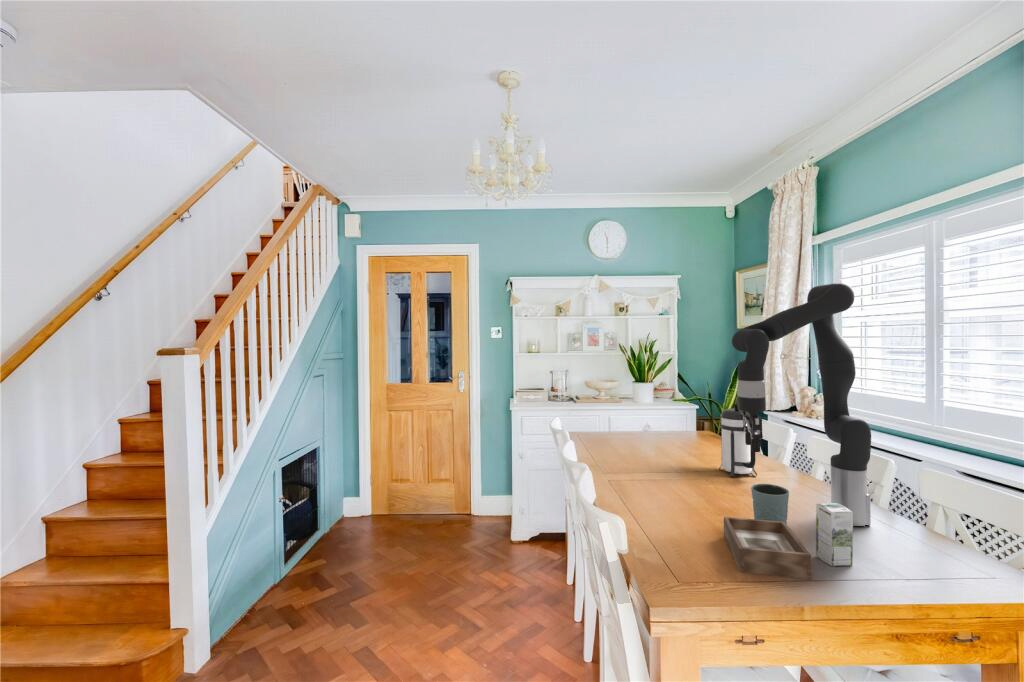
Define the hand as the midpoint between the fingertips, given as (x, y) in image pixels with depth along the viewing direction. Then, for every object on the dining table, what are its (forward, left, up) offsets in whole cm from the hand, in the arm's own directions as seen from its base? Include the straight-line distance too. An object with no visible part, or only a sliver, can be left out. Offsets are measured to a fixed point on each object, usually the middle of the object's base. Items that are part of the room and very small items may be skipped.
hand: (752, 448), depth 136 cm
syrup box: (-15, +15, -26) cm, 34 cm away
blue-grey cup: (-5, -4, -26) cm, 26 cm away
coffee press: (-8, -58, -26) cm, 64 cm away
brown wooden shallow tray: (+2, +16, -25) cm, 30 cm away
